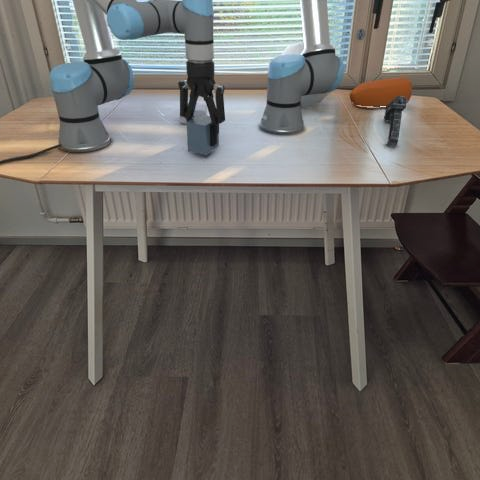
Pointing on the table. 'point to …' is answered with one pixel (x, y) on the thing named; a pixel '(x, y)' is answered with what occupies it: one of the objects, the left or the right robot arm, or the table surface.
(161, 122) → the table surface
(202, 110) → the charger
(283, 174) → the table surface
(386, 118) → the futuristic handgun
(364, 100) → the clog
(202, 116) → the block
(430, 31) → the right robot arm
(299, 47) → the decorative sphere
